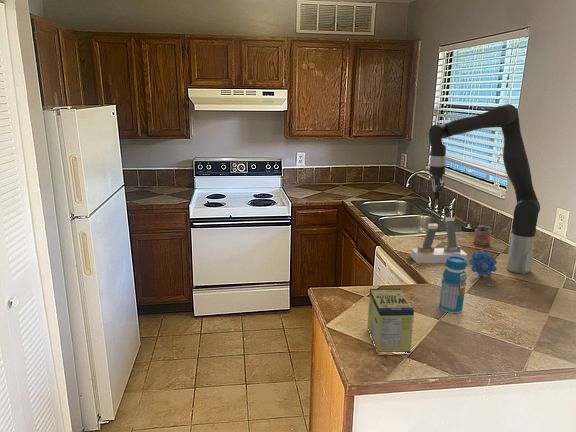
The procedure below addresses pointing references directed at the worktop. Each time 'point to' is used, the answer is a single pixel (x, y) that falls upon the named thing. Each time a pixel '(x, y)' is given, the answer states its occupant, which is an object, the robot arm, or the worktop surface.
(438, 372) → the worktop surface
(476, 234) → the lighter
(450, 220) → the lever grey
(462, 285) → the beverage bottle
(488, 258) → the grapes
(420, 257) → the console
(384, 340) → the protein box
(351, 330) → the worktop surface
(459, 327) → the worktop surface
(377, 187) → the worktop surface
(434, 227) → the lever amber
